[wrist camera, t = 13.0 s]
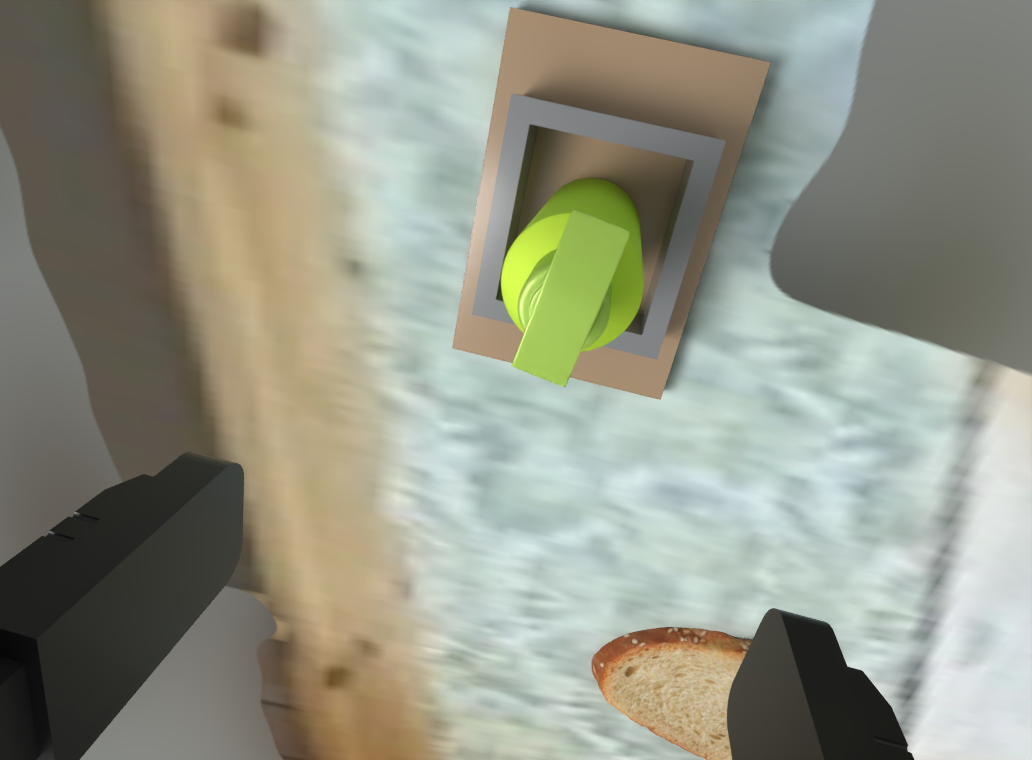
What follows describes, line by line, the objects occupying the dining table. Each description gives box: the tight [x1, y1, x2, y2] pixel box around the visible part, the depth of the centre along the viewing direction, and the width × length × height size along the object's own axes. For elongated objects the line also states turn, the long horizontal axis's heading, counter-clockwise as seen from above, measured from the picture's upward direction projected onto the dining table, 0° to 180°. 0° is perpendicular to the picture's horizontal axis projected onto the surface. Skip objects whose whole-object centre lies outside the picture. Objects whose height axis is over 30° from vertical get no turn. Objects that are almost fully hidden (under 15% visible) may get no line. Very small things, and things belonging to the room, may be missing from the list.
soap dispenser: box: [501, 178, 644, 387], centre depth 29 cm, size 6×7×20 cm
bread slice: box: [592, 627, 752, 760], centre depth 52 cm, size 18×18×4 cm
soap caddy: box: [452, 7, 771, 400], centre depth 37 cm, size 20×14×6 cm
